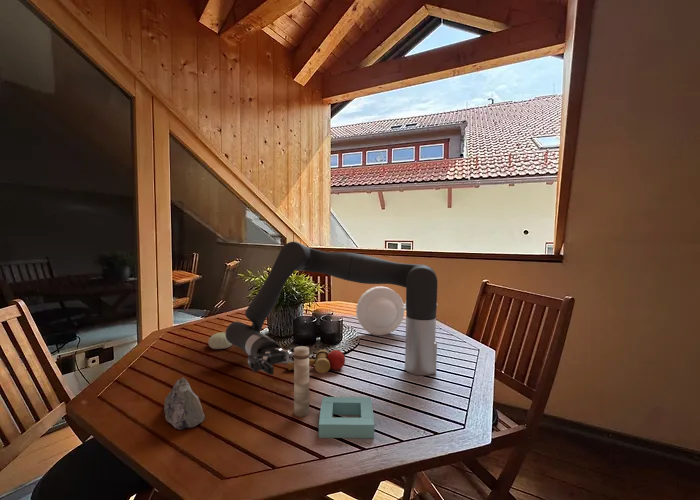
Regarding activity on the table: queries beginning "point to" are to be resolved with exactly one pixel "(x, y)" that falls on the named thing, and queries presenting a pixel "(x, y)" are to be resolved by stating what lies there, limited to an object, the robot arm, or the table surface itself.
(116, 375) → the table surface
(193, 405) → the mineral rock
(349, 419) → the teal square frame
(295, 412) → the beige banded cylinder
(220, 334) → the sea urchin shell
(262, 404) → the table surface
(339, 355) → the kendama
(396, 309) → the tracked sphere vehicle
